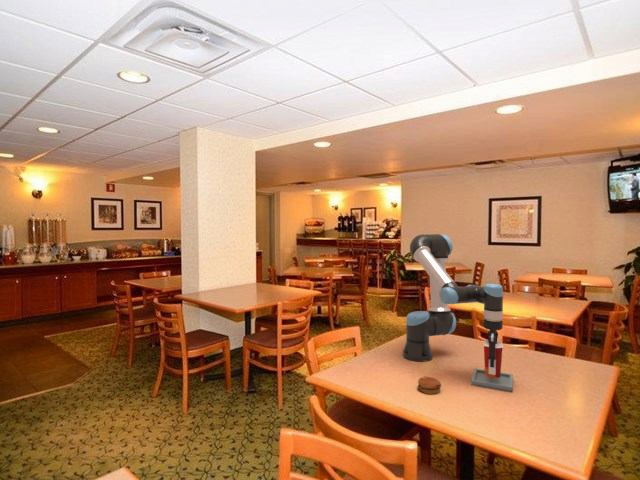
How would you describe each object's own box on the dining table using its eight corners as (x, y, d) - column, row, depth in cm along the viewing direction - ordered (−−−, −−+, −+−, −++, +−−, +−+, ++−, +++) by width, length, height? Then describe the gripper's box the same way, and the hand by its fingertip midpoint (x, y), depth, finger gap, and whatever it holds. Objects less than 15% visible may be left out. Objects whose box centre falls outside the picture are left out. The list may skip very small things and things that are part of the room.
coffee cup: (498, 372, 172) (499, 339, 171) (505, 379, 164) (506, 345, 163) (479, 371, 173) (480, 339, 172) (485, 378, 165) (486, 344, 164)
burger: (433, 397, 153) (433, 385, 153) (413, 390, 160) (413, 379, 160) (445, 389, 160) (445, 378, 160) (425, 383, 167) (425, 373, 167)
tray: (474, 372, 179) (474, 368, 179) (512, 378, 172) (512, 374, 172) (471, 385, 165) (471, 380, 165) (512, 392, 157) (512, 387, 157)
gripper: (485, 314, 178) (484, 362, 179) (482, 323, 160) (481, 377, 161) (503, 315, 174) (502, 365, 175) (501, 325, 157) (501, 380, 158)
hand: (492, 371), depth 168 cm, fingers closed on coffee cup, 7 cm apart
